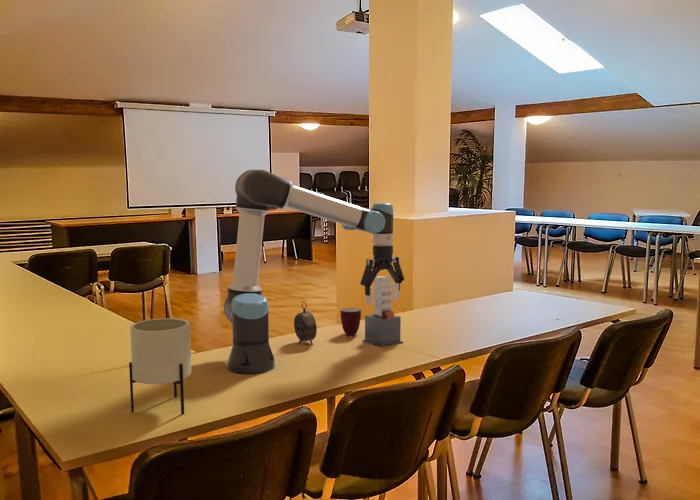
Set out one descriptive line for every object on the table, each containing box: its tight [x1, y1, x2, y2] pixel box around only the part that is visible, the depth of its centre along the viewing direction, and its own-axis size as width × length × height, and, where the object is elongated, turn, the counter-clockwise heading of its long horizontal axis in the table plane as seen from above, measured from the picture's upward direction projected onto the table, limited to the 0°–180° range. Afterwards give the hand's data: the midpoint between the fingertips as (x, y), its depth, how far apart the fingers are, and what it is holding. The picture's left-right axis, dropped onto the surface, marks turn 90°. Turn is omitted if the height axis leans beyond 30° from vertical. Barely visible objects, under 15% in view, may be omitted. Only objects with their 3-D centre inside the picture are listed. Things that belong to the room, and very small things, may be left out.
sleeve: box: [361, 310, 404, 348], centre depth 230 cm, size 11×11×12 cm
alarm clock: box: [293, 300, 318, 346], centre depth 229 cm, size 11×5×16 cm, turn 31°
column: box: [373, 275, 392, 319], centre depth 229 cm, size 4×5×24 cm
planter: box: [128, 317, 192, 415], centre depth 164 cm, size 15×16×23 cm
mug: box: [340, 307, 362, 337], centre depth 241 cm, size 10×8×10 cm
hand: (382, 301), depth 229 cm, fingers open, 12 cm apart
